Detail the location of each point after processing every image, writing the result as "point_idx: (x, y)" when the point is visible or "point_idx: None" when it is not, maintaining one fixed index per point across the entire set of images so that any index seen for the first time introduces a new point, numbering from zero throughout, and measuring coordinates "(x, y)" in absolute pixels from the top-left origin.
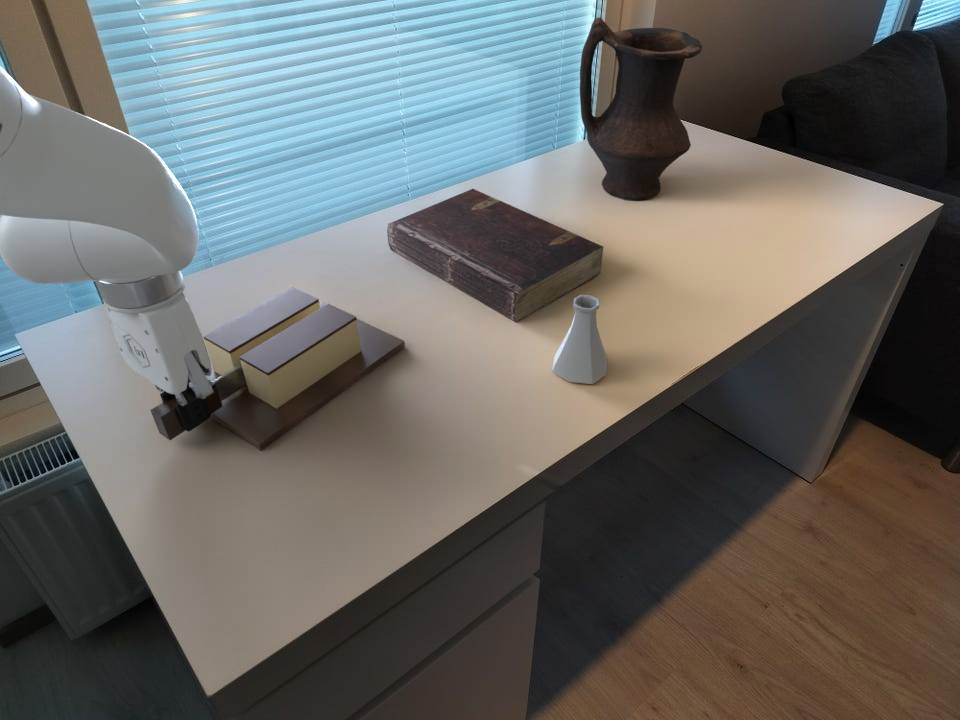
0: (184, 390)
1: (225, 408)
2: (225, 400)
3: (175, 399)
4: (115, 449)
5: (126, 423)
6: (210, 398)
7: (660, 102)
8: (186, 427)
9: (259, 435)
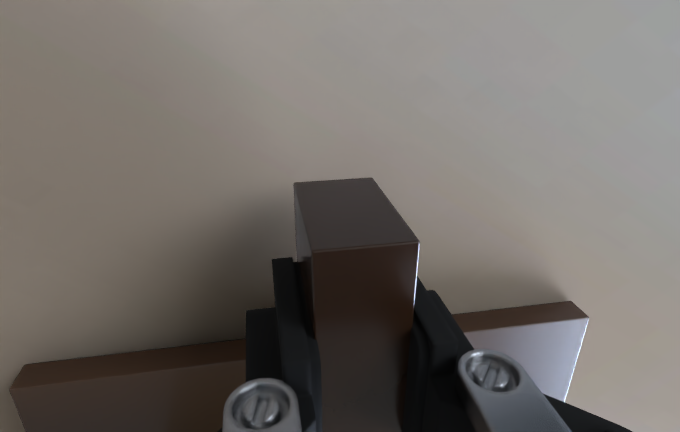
0: (397, 411)
1: None
2: None
3: (376, 360)
4: (489, 9)
5: (566, 125)
6: None
7: None
8: (274, 271)
9: (59, 409)
